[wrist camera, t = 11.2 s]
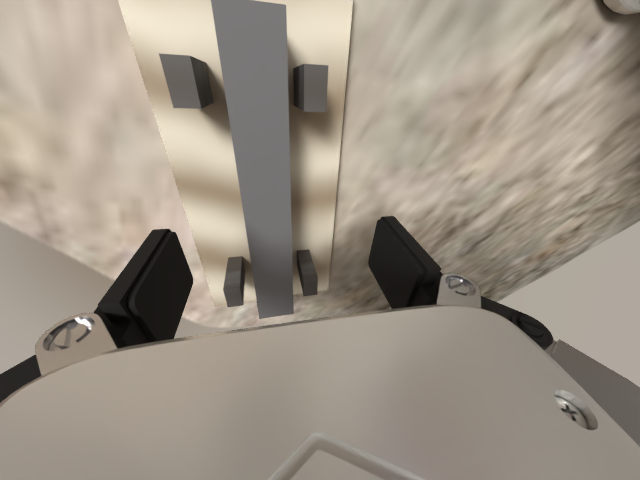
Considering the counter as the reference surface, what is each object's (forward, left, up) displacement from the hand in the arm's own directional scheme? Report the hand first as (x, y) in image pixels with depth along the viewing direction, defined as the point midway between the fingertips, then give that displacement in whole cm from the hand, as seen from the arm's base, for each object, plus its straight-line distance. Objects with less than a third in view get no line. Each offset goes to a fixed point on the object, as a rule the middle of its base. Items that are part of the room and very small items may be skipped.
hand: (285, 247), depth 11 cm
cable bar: (+1, -1, -9) cm, 9 cm away
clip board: (+1, -1, -10) cm, 10 cm away
